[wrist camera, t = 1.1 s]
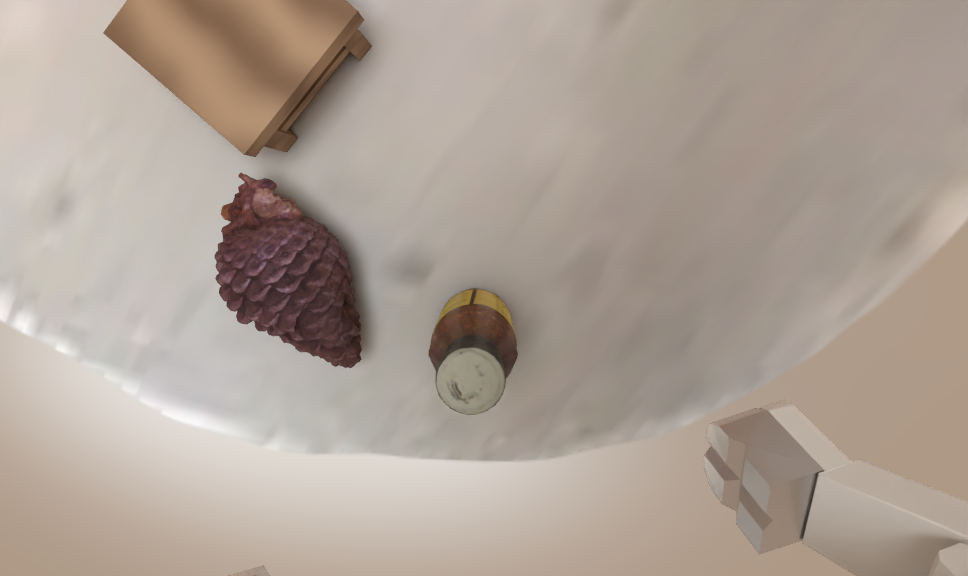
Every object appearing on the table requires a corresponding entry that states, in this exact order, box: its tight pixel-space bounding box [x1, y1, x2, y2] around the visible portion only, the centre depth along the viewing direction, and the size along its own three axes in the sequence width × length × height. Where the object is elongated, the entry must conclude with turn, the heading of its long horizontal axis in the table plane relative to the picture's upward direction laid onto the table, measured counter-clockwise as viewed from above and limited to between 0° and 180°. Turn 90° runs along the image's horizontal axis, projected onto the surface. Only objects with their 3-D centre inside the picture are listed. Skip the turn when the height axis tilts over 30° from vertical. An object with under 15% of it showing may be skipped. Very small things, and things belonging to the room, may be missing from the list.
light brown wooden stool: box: [104, 0, 372, 157], centre depth 48 cm, size 13×13×9 cm
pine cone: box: [215, 173, 362, 368], centre depth 50 cm, size 18×10×10 cm, turn 33°
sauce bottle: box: [429, 289, 518, 415], centre depth 45 cm, size 7×6×20 cm
